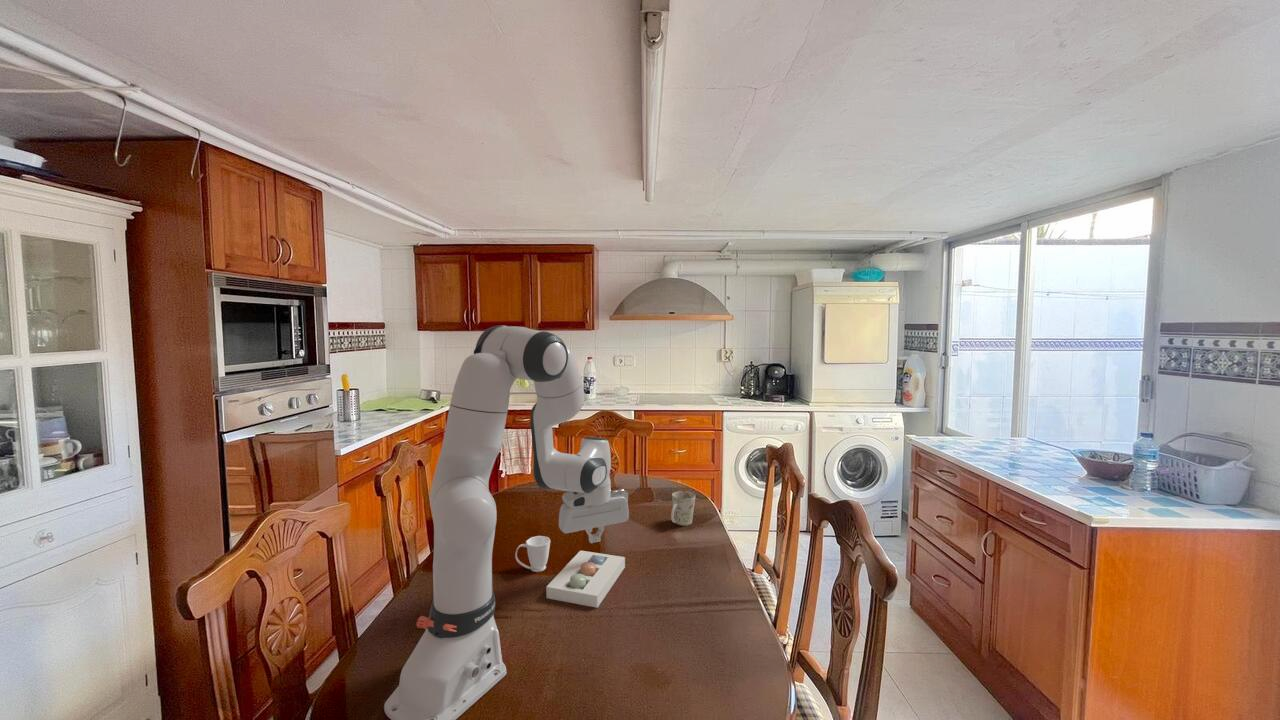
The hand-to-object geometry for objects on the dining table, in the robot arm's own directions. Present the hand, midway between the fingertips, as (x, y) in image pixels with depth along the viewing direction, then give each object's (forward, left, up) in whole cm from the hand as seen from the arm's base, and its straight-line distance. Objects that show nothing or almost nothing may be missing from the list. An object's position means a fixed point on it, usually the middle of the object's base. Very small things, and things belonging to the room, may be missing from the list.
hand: (594, 541), depth 131 cm
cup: (-3, +18, -9) cm, 20 cm away
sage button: (-12, 0, -7) cm, 14 cm away
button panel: (-5, 0, -9) cm, 10 cm away
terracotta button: (-5, 0, -7) cm, 9 cm away
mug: (+40, -16, -9) cm, 44 cm away
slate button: (+1, 0, -8) cm, 8 cm away
